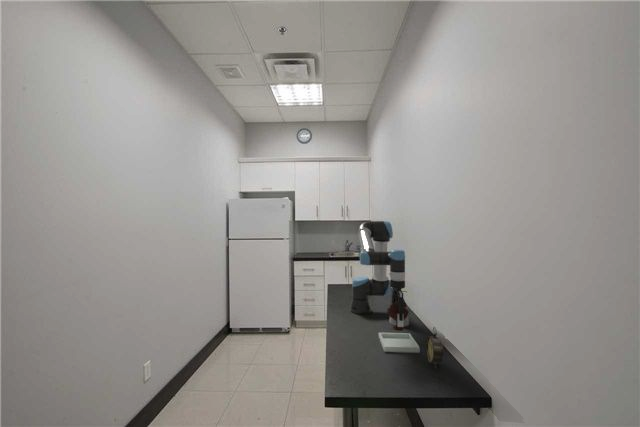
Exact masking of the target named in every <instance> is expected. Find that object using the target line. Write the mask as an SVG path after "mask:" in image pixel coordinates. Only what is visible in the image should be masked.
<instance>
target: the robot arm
mask: <svg viewBox="0 0 640 427" xmlns="http://www.w3.org/2000/svg"><path fill="white" fill-rule="evenodd" d="M393 233H394V232H393V227H392V224H391V222H390V221H386V220H385V221H384V220H376V221H374V220H373V221H370V220H368V221H365V222H363V223H361V224H360V225H359V226H358V227H357V228H356V237H357V239H358V240H359V245H360V249H361V251H360V252H359V262H360V265H362V266H373V267H374V268H373V269H374V272H373V275H371V279H370V278H369V277H368V276H359V277H355V278H354V279H353V280H352V285H351V286H352V290H351V291H352V294H351V295H352V296H351V297H352V300H351V301H350V302H351V303H350V306H349V311H350V312H351V313H354V314H356V315H357V314H358V315H366V314H368V315H369V313H372V306H371V303H370V299H369V297H380V298H381V297H388V296H389V295H390V294H391V304H393V303H395V301H397V307H398V312H397V314H398V327H403V328H404V326H403V314H405V311H404V300H405V298H404V292H401V291H402V289H405V287H406V254H405V250H404V249H390V250H389V251H388V244H389V242H390V241H391V239H392V238H393V236H394V234H393ZM373 242H374V243H373ZM388 266H389V271H390V272H389V273H388V275H389V277H390V279H389V277H388V276H387V267H388ZM391 289H392V291H391Z"/></svg>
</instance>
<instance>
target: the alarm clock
mask: <svg viewBox="0 0 640 427" xmlns="http://www.w3.org/2000/svg"><path fill="white" fill-rule="evenodd" d="M432 331H433V335H428V336H427V337H426V343H425V344H426V345H425V346H426V347H425V349H426V350H425V351H426V357H427V360H428V362H429V363H430V364H434V368H435V369H434V370H437V369H438V368H437V365H441V364H442V363H443V360H444V357H445V356H444V355H445V353H444V346H443V342H442V340H441V338H440V337H438V336H437V329H436V327H434V326H433V330H432Z"/></svg>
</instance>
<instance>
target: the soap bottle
mask: <svg viewBox="0 0 640 427" xmlns="http://www.w3.org/2000/svg"><path fill="white" fill-rule="evenodd" d="M401 292H402V293H408V291H406V290H401ZM404 301H405V302H406V300H405V299H404ZM405 309H407V307H406V308H405ZM388 323H389V324H390V325H391V326H395V325H396V320H394V319H392V318H391V317H390V316H389V320H388ZM409 325H410V320H409V315H408V316H407V318H406V319H404V320H403V327H408V326H409Z"/></svg>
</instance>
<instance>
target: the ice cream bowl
mask: <svg viewBox="0 0 640 427" xmlns="http://www.w3.org/2000/svg"><path fill="white" fill-rule="evenodd" d="M407 306H408V304H407V302H406V300H405V301H404V311H405V314H403V320H404V319H406V318H407V316H408V317H409V313H410V310H409V309H407ZM405 308H406V309H405ZM386 311H387V314H388V316H389V318H390V317H391V318H392V319H394V320H396V325H392V329H393V330H395V331H397V332H398V331H399V332H402V331H404V326H403V327H398V314H397V312H398V307H397V301H395V303H393V304H392V303H391V304H390V305H389V307H388V308H387V309H386Z"/></svg>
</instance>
